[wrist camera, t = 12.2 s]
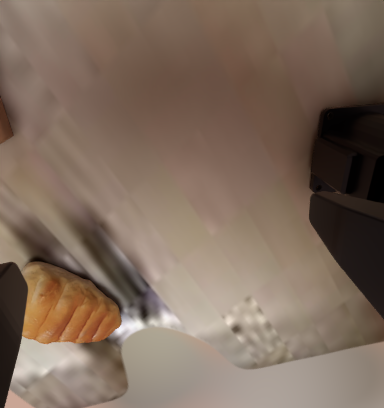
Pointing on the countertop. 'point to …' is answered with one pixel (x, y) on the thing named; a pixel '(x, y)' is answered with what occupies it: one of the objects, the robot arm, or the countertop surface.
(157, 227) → the countertop surface
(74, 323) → the pastry
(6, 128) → the socket block
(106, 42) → the countertop surface
